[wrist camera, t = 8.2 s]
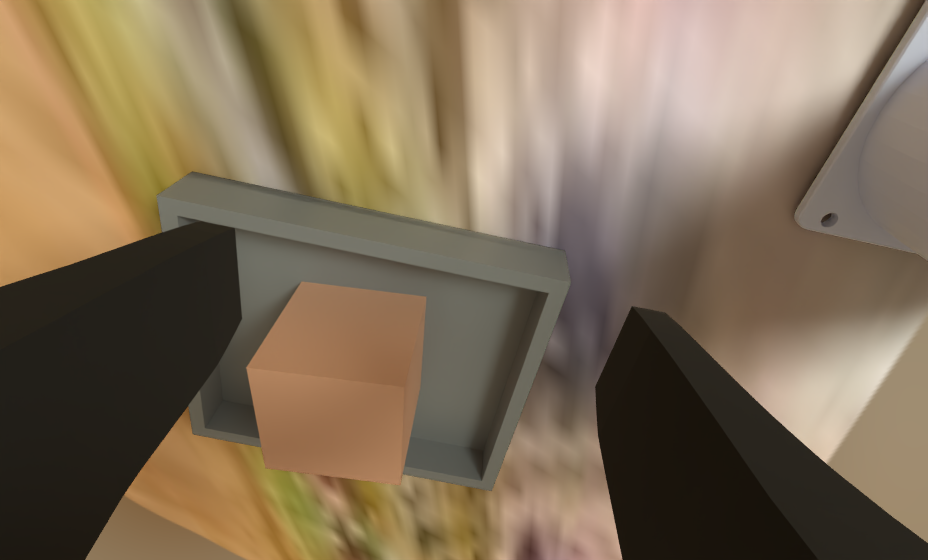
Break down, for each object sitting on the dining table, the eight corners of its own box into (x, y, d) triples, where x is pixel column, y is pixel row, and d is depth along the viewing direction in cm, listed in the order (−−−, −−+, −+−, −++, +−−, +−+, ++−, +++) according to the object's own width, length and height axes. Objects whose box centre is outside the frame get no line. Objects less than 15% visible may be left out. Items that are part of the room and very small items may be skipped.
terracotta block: (426, 296, 20) (404, 387, 16) (420, 387, 23) (400, 485, 18) (301, 281, 20) (246, 367, 16) (310, 373, 23) (265, 468, 18)
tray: (565, 251, 19) (570, 282, 17) (492, 452, 25) (491, 491, 24) (192, 171, 18) (156, 195, 16) (216, 398, 25) (192, 434, 23)
